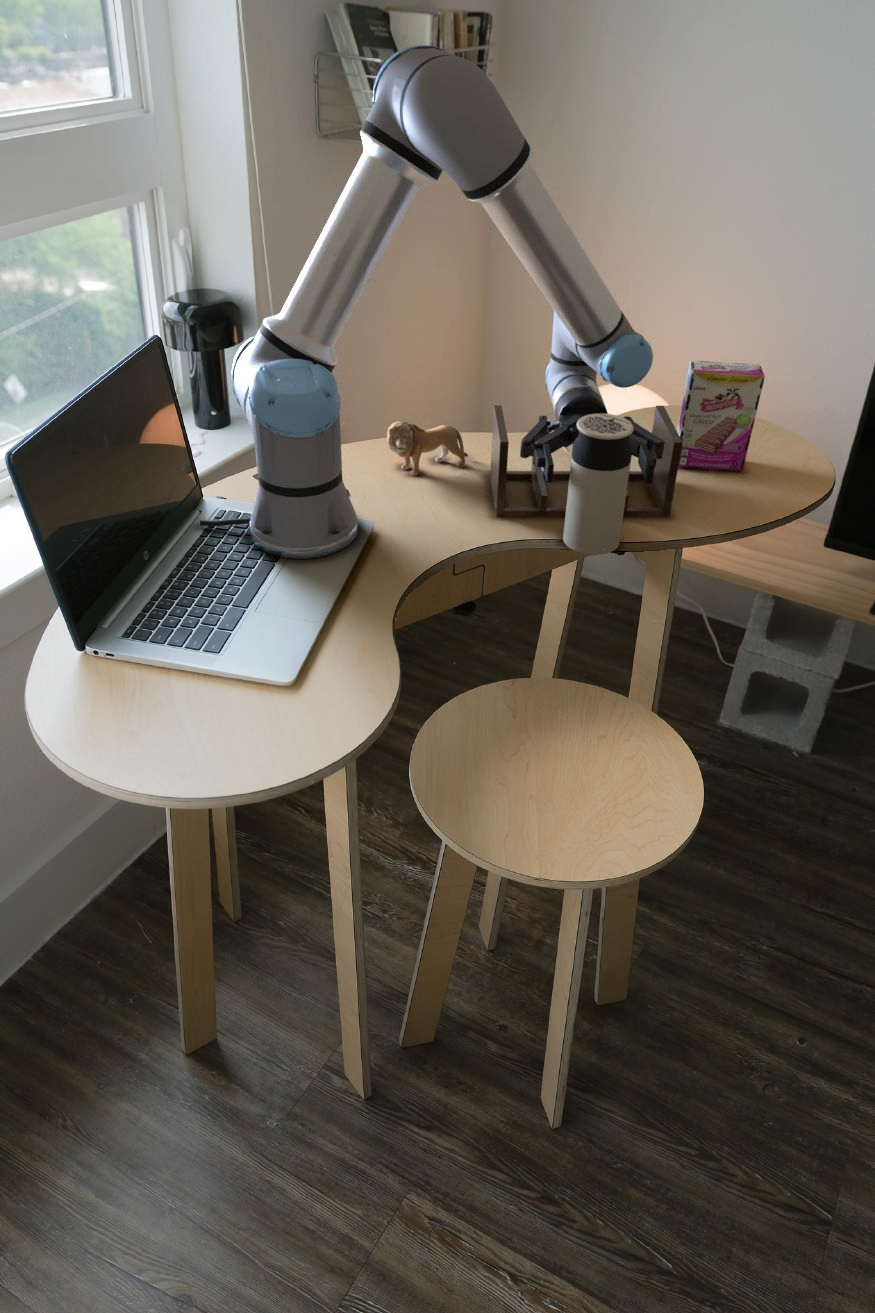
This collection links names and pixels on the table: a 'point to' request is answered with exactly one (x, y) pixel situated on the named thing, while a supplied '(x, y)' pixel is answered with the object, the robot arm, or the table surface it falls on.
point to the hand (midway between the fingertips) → (600, 474)
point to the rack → (498, 474)
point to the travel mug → (598, 484)
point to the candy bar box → (718, 414)
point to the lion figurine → (424, 443)
